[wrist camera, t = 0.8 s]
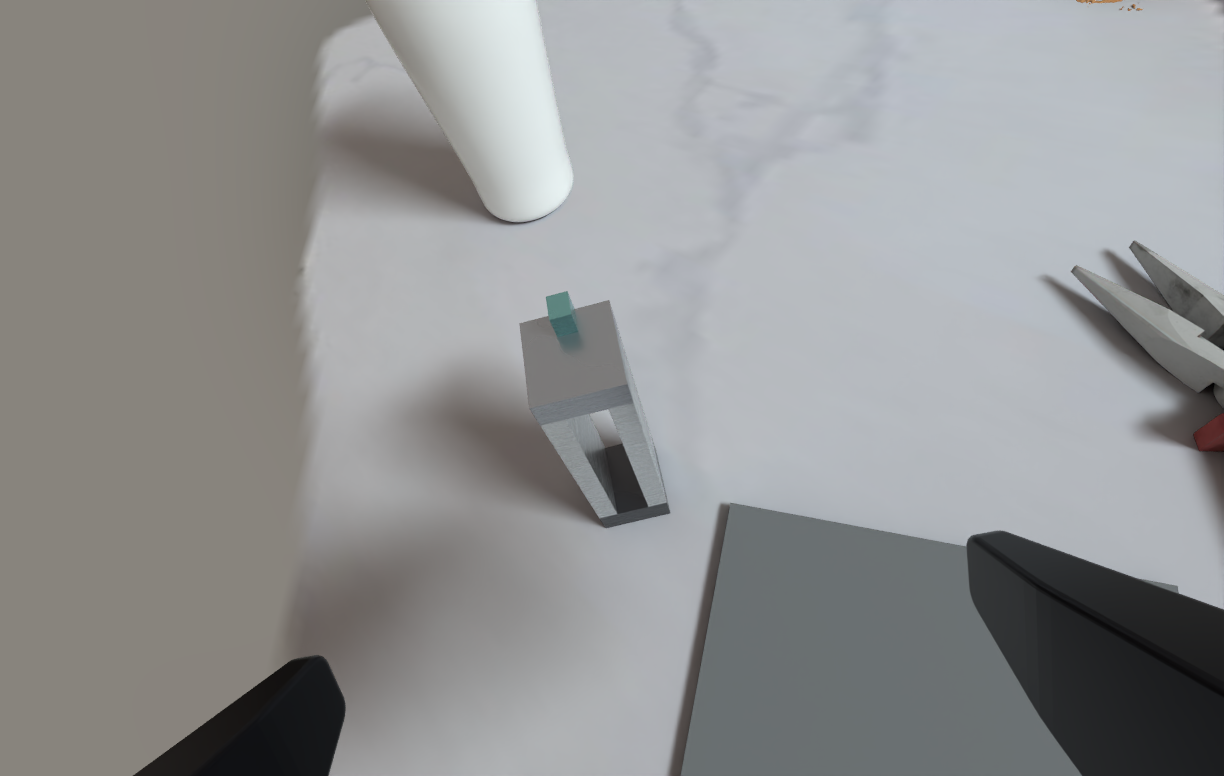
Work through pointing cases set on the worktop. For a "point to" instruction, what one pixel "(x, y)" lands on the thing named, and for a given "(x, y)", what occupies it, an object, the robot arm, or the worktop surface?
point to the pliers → (1173, 328)
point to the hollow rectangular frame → (592, 408)
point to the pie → (1104, 2)
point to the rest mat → (855, 661)
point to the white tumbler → (487, 95)
